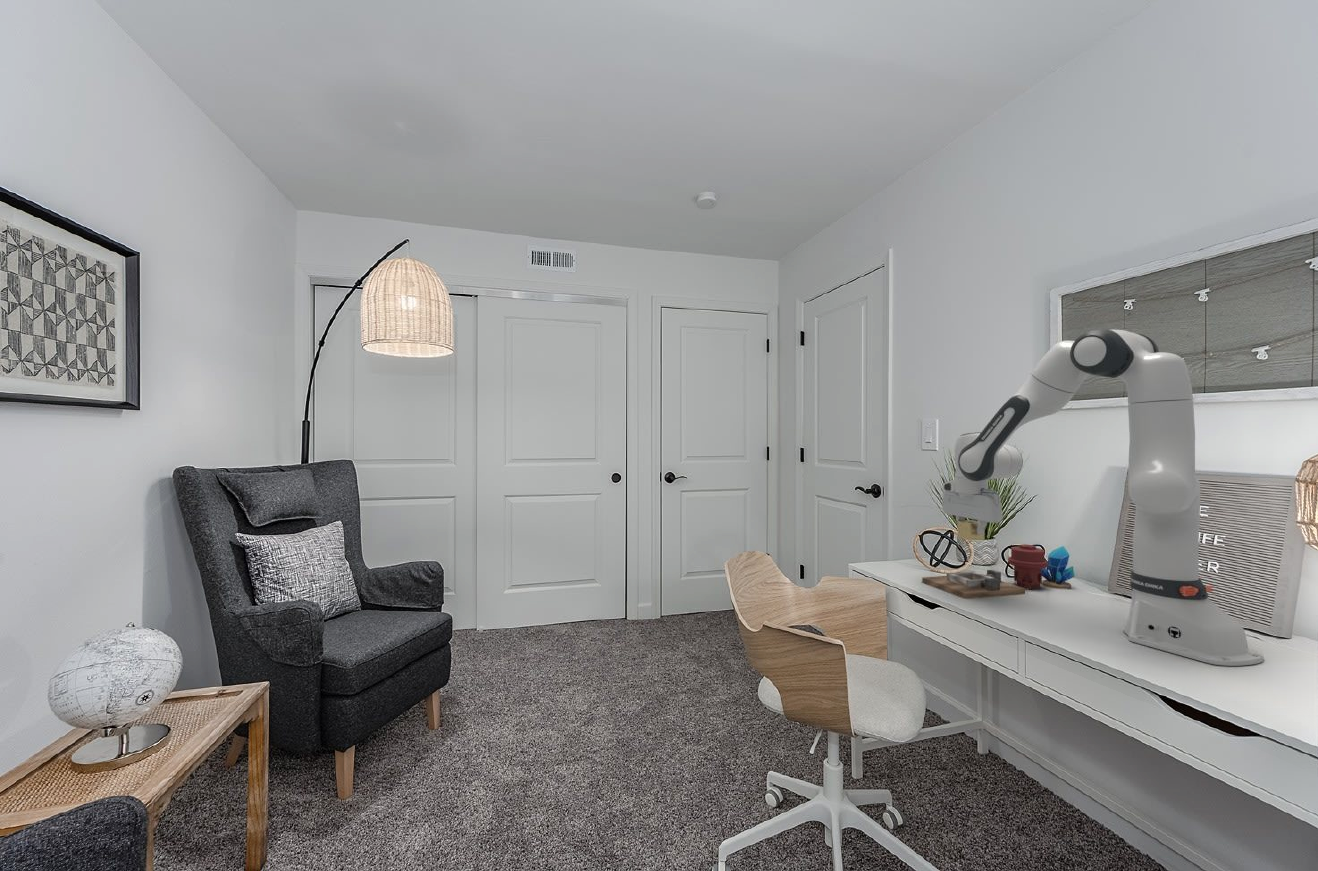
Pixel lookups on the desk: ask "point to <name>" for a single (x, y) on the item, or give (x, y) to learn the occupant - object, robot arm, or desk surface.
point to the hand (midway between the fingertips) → (970, 533)
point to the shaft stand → (974, 584)
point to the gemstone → (1058, 569)
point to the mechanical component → (1027, 565)
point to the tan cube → (969, 530)
